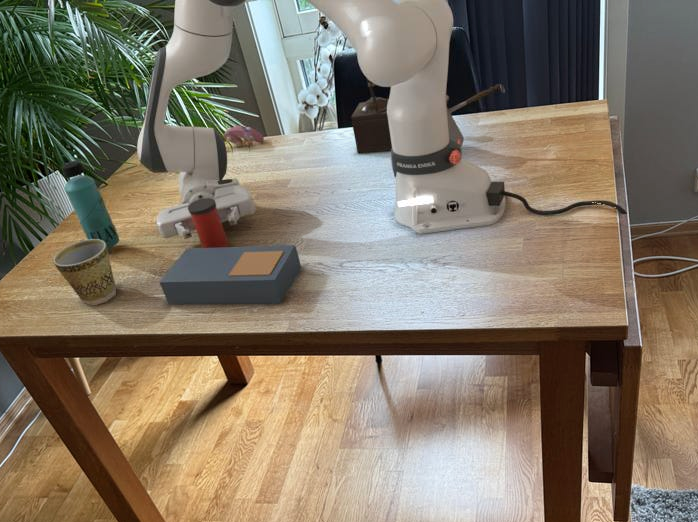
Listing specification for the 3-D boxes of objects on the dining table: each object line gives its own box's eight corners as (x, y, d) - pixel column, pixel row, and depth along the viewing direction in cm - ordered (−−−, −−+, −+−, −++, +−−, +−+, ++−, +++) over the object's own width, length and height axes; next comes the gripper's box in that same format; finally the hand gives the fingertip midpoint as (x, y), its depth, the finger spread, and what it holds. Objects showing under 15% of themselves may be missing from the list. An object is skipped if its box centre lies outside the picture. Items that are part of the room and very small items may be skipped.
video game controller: (230, 151, 194) (218, 134, 188) (236, 138, 195) (223, 120, 189) (261, 151, 190) (249, 133, 184) (266, 138, 191) (255, 120, 185)
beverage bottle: (96, 260, 151) (56, 173, 138) (91, 249, 155) (51, 164, 143) (125, 249, 152) (88, 163, 140) (120, 239, 157) (83, 154, 145)
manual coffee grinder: (400, 150, 170) (389, 75, 159) (356, 154, 173) (343, 80, 162) (409, 126, 182) (400, 54, 171) (368, 130, 185) (357, 59, 174)
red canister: (234, 245, 145) (219, 197, 139) (224, 259, 141) (208, 210, 134) (211, 246, 147) (194, 198, 140) (200, 260, 143) (183, 211, 136)
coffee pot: (411, 164, 162) (403, 100, 153) (421, 144, 171) (413, 82, 162) (504, 160, 156) (501, 92, 147) (509, 139, 164) (507, 74, 155)
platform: (301, 267, 133) (295, 243, 130) (281, 303, 125) (274, 278, 121) (194, 270, 140) (185, 247, 137) (168, 304, 131) (158, 281, 128)
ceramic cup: (125, 300, 135) (105, 255, 129) (74, 316, 133) (51, 271, 127) (124, 270, 145) (105, 227, 139) (76, 284, 143) (55, 241, 137)
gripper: (150, 202, 148) (153, 228, 137) (243, 176, 150) (254, 199, 139) (160, 228, 151) (164, 256, 141) (251, 202, 154) (262, 228, 143)
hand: (209, 228), depth 140 cm, fingers open, 8 cm apart
